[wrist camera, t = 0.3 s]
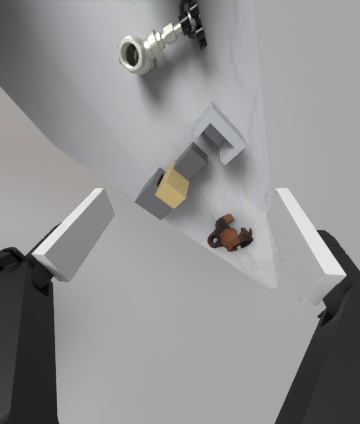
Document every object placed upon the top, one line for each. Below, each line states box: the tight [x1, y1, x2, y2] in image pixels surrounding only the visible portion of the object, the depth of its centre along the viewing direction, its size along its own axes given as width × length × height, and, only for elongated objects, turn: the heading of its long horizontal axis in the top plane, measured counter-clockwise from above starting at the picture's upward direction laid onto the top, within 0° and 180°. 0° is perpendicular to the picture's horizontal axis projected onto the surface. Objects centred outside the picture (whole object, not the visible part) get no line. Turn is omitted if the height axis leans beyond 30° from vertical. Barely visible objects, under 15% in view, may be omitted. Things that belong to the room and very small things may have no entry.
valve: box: [118, 0, 207, 75], centre depth 24 cm, size 7×7×12 cm
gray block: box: [135, 168, 173, 220], centre depth 40 cm, size 7×7×7 cm
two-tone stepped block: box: [155, 142, 207, 209], centre depth 35 cm, size 4×17×10 cm, turn 140°
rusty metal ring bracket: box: [208, 214, 253, 252], centre depth 47 cm, size 12×10×8 cm
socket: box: [191, 102, 247, 165], centre depth 30 cm, size 8×4×8 cm, turn 50°
